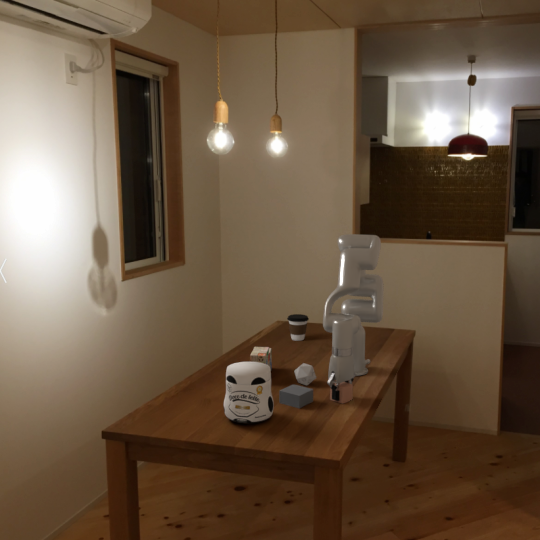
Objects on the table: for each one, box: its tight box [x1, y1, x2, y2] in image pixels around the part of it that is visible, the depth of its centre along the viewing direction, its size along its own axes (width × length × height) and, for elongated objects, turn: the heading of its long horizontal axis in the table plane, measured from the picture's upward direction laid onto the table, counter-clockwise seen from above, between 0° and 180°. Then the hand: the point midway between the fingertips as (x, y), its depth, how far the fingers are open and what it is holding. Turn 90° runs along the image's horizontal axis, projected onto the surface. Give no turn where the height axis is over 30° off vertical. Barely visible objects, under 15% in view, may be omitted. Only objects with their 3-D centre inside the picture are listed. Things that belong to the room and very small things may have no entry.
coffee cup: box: [286, 313, 309, 342], centre depth 322 cm, size 11×11×12 cm
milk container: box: [223, 361, 275, 425], centre depth 218 cm, size 17×17×18 cm
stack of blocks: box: [249, 346, 273, 371], centre depth 264 cm, size 21×6×12 cm, turn 173°
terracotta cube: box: [329, 382, 354, 404], centre depth 237 cm, size 6×6×6 cm
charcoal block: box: [278, 384, 314, 409], centre depth 234 cm, size 9×9×5 cm
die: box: [294, 362, 317, 387], centre depth 255 cm, size 8×9×10 cm
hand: (341, 397), depth 237 cm, fingers closed on terracotta cube, 6 cm apart
